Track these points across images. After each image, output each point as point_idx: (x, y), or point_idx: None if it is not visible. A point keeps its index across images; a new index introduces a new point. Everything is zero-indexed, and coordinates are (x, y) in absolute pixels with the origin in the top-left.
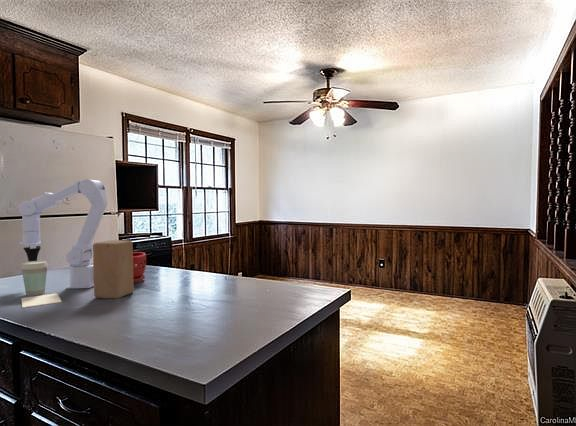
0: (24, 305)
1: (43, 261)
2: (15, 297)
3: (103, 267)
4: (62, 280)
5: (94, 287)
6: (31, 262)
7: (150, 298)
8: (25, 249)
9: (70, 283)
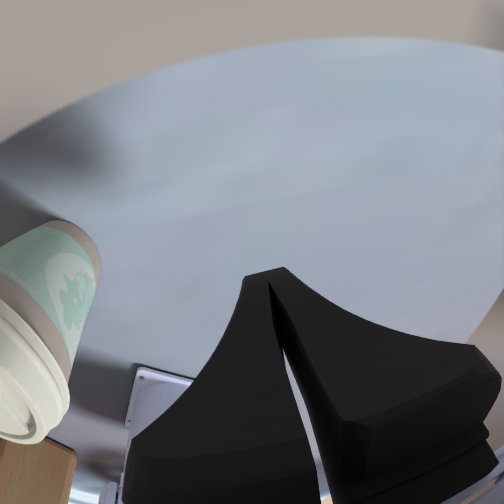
0: None
1: (31, 434)
2: (18, 182)
3: None
4: (377, 316)
5: (1, 439)
6: (1, 368)
7: None
8: (128, 471)
9: (152, 395)
